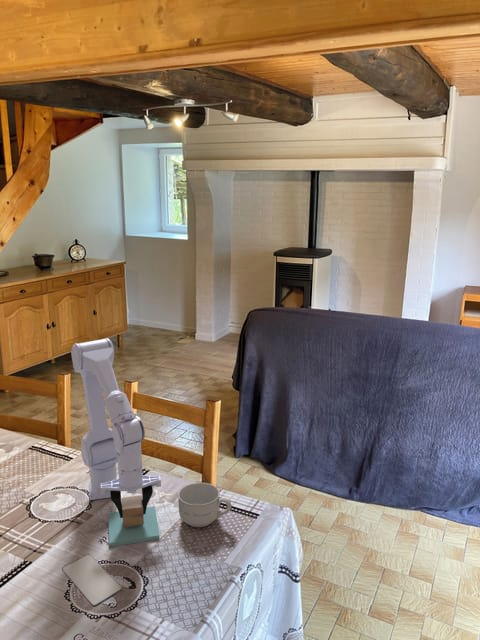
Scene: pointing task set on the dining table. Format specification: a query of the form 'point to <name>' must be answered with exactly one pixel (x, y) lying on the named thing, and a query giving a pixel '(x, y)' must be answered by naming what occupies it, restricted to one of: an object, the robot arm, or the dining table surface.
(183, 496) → the teacup
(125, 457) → the robot arm
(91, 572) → the smartphone
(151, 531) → the teal square plate
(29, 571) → the dining table surface
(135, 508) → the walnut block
